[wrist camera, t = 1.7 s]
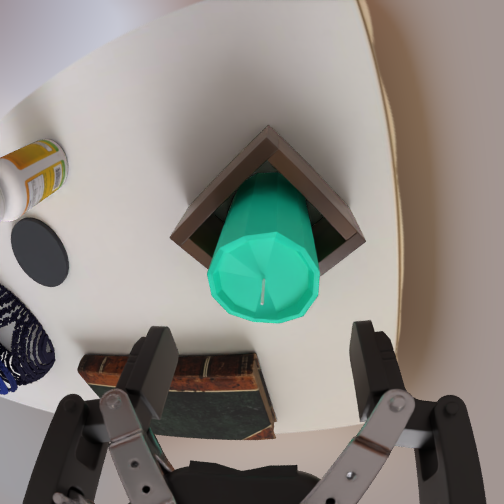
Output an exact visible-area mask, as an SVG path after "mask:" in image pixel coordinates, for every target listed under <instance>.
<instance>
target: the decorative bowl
mask: <svg viewBox="0 0 504 504" xmlns="http://www.w3.org/2000/svg"><path fill="white" fill-rule="evenodd" d="M0 288H1V290H0V296H1V295H3V294H4V293H5V292H7V294H5V295H4V296H3V297H1V298H0V305H1V307H3V304H4V303H5V304H7V303H9V302H10V301H11V302H12V301H13V300H14V299H15V300H14V302H13V303H12V304H11V307H10V305H9V306H8V309H7V307H5V308H3V309H2V310H1V309H0V318H2V315H5V313H9V314H10V313H11V312H10V311H11V310H12V309H13V311H14V310H15V307H16V306H17V305H18V307H19V306H20V305H21V307H20V308H19V309H17V310H16V311H15V312H13V313H12V314H11V315H12V316H11V317H10V318H9V317H5V318H3V321H2V320H0V324H1V323H2V325H0V328H1V327H3V326H7V325H8V322H9V324H11V322H14V321H16V324H15V325H16V326H15V327H14V329H15V331H14V330H13V334H12V335H13V336H12V341H11V342H12V344H11V345H12V346H11V348H12V350H11V351H12V352H10V351H9V350H7V349H6V348H5V347H4V346H3V345H2V344H1V343H0V355H2V354H3V352H4V354H3V359H2V358H1V356H0V370H1V371H0V374H1V375H0V389H1V390H0V394H3V395H6V394H8V392H10V391H11V392H15V390H17V388H18V386H17V385H19V386H21V385H22V384H23V385H27V384H29V383H32V382H35V381H37V380H39V379H40V378H42V377H44V375H45V374H47V373H48V371H49V370H50V368H52V366H53V364H54V362H55V353H54V351H55V350H54V348H53V345H52V343H51V340H50V339H49V338H48V335H47V334H46V333H45V330H43V328H42V325H41V324H40V323H39V322H38V320H37V319H36V317H35V316H34V315H32V313H30V310H29V309H27V308H26V307H25V305H24V304H22V302H20V300H19V299H18V298H16V297H15V296H14V294H13V293H11V291H8V290H7V289H6V288H4V286H2V285H1V284H0ZM23 308H24V309H23ZM22 309H23V311H22V312H21V313H19V312H20V311H21V310H22ZM25 311H27V312H26V313H25V314H24V315H23V313H24V312H25ZM19 314H20V316H21V317H20V318H19V319H17V317H18V316H19ZM27 314H29V315H28V318H29V319H28V321H25V322H24V320H25V319H26V318H27ZM9 319H10V321H9ZM33 323H34V325H33V326H32V324H33ZM20 325H21V326H22V325H23V327H22V330H21V327H20ZM36 325H38V326H39V327H38V330H37V331H36V335H35V336H36V337H35V338H34V340H33V341H34V342H33V347H32V348H33V353H32V354H33V356H34V358H35V360H34V361H35V363H36V365H38V366H36V365H35V364H34V362H33V360H31V358H30V353H31V352H30V350H29V349H30V341H31V340H32V339H31V338H32V333H33V331H34V330H35V328H36ZM31 326H32V330H31V331H30V332H31V333H30V334H29V329H28V328H30V327H31ZM17 327H18V329H17ZM41 331H42V334H41V336H40V339H39V342H38V344H37V345H38V350H37V351H38V356H39V358H40V360H41V362H42V364H45V365H42V364H39V362H38V360H37V358H36V343H37V338H38V335H39V333H40V332H41ZM20 332H22V333H21V334H19V333H20ZM28 334H29V336H28ZM19 335H20V339H19ZM26 337H28V341H29V342H28V343H27V348H28V349H27V354H28V355H26V353H25V352H26V347H25V346H26V341H27V339H25V338H26ZM18 339H19V340H20V341H19V343H17V342H18ZM47 341H48V344H49V346H50V349H51V350H50V351H51V352H47V351H46V347H47ZM18 345H19V346H20V347H21V348H19V349H18ZM14 348H15V349H14ZM6 351H7V353H8V354H7V355H6ZM17 351H19V353H18V352H17ZM5 355H6V358H5ZM18 355H20V356H21V357H20V358H19V357H18ZM11 356H12V362H11V363H12V364H11V366H12V369H13V370H14V371H15V372H17V373H18V374H20V376H19V375H17V374H15V373H14V372H13V371H12V369H11V368H10V364H9V361H10V360H9V359H10V358H11ZM26 357H28V359H29V361H31V362H29V363H28V362H27V358H26ZM4 358H5V359H4ZM1 359H2V361H1ZM22 359H23V360H22ZM4 360H5V361H6V365H7V367H6V366H5V364H4ZM20 363H21V365H22V367H23V368H22V367H21V365H20ZM11 373H12V374H13V375H12V374H11ZM25 374H27V375H25ZM14 376H15V377H14ZM3 377H4V378H3ZM17 377H19V378H17ZM5 378H6V379H5ZM14 378H15V379H16V380H15V379H14ZM7 379H8V380H7ZM3 380H4V381H5V382H7V383H9V384H10V386H11V388H8V387H7V386H6V384H5V383H4V381H3Z"/></svg>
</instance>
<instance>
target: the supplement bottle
mask: <svg viewBox="0 0 504 504" xmlns="http://www.w3.org/2000/svg"><path fill="white" fill-rule="evenodd" d="M67 172H68V164H67V159H66V156H65V154H64V152H63V150H62V148H61V147H60V146H59V145H58V144H57V143H56V142H54V141H52V140H49V139H42V140H39V141H36V142H34V143H32V144H29V145H27V146H25V147H23V148H20V149H18V150H16V151H14V152H12V153H9V154H7V155H5V156H3V157H1V158H0V222H1V220H2V221H5V222H11V221H14V220H16V219H17V218H19V217H20V216H22V215H23V214H24V213H25V212H27V211H28V210H29V209H31V208H32V207H34V206H35V205H36V204H38V203H39V202H41V201H42V200H43V199H45V198H46V197H48V196H49V195H51V194H52V193H54V192H55V191H56V190H58V189H59V188H60V187H61V186H62V185H63V184H64V182H65V180H66V177H67Z"/></svg>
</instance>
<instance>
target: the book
mask: <svg viewBox="0 0 504 504" xmlns="http://www.w3.org/2000/svg"><path fill="white" fill-rule="evenodd" d="M128 357H129V356H101V355H84V356H83V358H82V359H81V361H80V363H79V366H78V373H79V374H80V375H81V377H82V378H83V379H84V380H85V381H86V383H87V384H88V385H89V386H90V387H91V388H92V390H93V391H94V392H95V393H96V394H97V395H98V396H99V398H100V399H101V397H102V396H103V394H105V393H106V392H107V391H109V390H112V389H115V387H116V385H117V382H118V380H119V378H120V375H121V373H122V371H123V368H124V366H125V364H126V362H127V359H128ZM274 422H277V420H276V417H275V413H274V410H273V407H272V404H271V401H270V397H269V394H268V391H267V388H266V385H265V381H264V378H263V375H262V372H261V369H260V365H259V362H258V358H257V355H256V353H254V354H241V355H223V356H194V357H178V363H177V366H176V369H175V372H174V375H173V379H172V382H171V385H170V389H169V392H168V395H167V398H166V402H165V405H164V409H163V412H162V415H161V419H160V420H157V419H151V422H150V426H151V428H152V430H153V432H154V434H156V435H164V436H175V437H186V438H201V439H202V438H203V439H222V440H264V439H275V438H276V437H275V434H274V431H273V430H274Z"/></svg>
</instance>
